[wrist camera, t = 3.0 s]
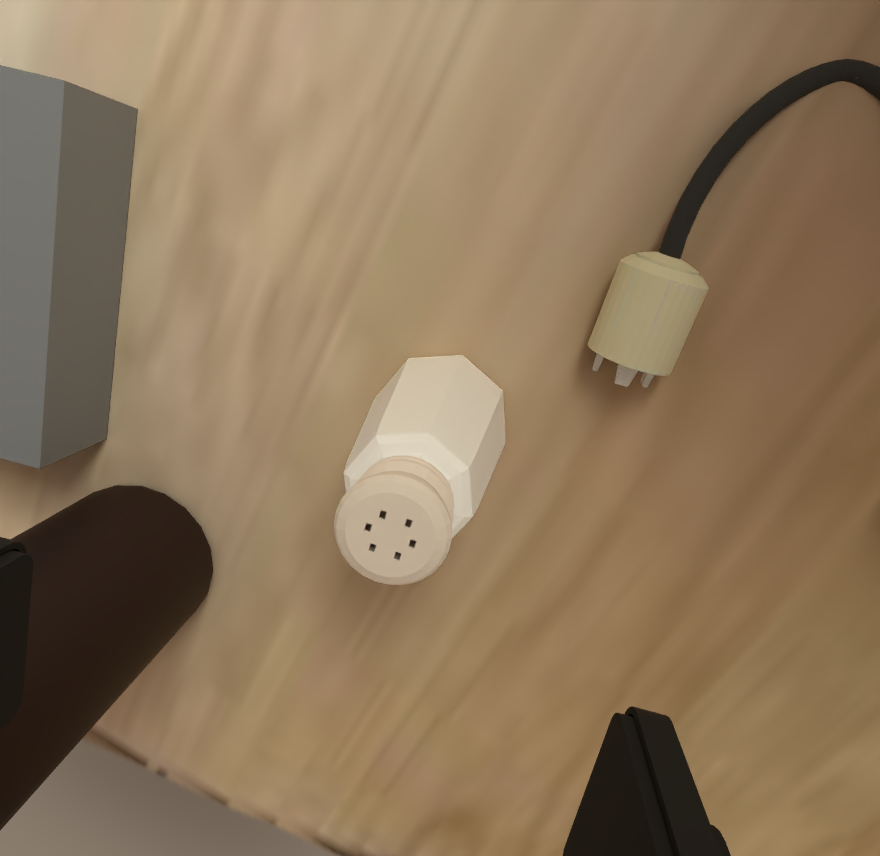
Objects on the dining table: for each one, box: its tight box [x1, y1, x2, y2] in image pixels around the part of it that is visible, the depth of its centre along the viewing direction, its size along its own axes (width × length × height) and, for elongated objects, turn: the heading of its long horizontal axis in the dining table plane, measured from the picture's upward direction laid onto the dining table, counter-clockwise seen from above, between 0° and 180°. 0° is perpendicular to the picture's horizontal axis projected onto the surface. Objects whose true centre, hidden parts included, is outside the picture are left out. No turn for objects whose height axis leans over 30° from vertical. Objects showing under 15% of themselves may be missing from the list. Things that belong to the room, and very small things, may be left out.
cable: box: [587, 59, 880, 388], centre depth 21 cm, size 16×16×4 cm
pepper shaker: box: [333, 355, 506, 585], centre depth 20 cm, size 5×5×11 cm
